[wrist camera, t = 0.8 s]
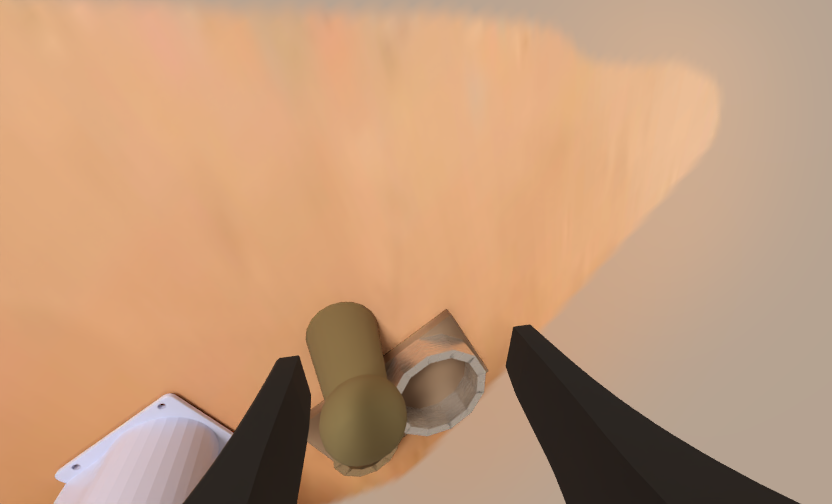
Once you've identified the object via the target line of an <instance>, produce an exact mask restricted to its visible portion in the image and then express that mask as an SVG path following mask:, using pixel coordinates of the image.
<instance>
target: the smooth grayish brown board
mask: <svg viewBox="0 0 832 504" xmlns="http://www.w3.org/2000/svg"><path fill="white" fill-rule="evenodd" d="M438 334H445V335H448V336H452V337H455V338H458V339H462V340H463V341H464V343H465V344H466V345H467V346H468V348H469V349H470V350H471V351H472V353H473V354H474V355H475V356H476V358H477V359H478V361H479V362H480V364H481V365H482V367H483V368H484V370H485V371H486V373H487V372H488V369H487V368H486V366H485V365H484V363H483V362H482V360H481V359H480V357H479V356H478V354H477V353H476V351H475V350H474V348H473V347H472V345H471V344H470V342H469V341H468V339H467V338H466V336H465V335H464V333H463V332H462V330H461V329H460V327H459V326H458V324H457V323H456V321H455V320H454V318H453V317H452V315H451V314H450V313H449V311H448V310H447V309H446V310H445V311H443V312H442V313H441V314H439V315H438V316H437V317H435V318H434V319H432V320H431V321H430V322H428V323H427V324H426V325H424V326H423V327H422V328H420V329H419V330H418V331H416V332H415V333H414V334H412V335H411V336H410V337H408V338H407V339H406V340H404V341H403V342H402V343H400V344H399V345H398V346H396V347H395V348H394V349H392V350H391V351H389V352H388V353H387V354H385V355H384V356H383V358H384V363H385V369H386V371H387V370H388V368H389V366H390V364H391V362H392V360H393V359H394V357H395V355H397V354H398V353H399V352H401V351H402V350H403V349H405V348H406V347H407V346H409V345H410V344H411V343H413V342H414V341H415V340H417V339H420V338H425V337H429V336H434V335H438ZM464 372H465V362H464V361H461V360H457V359H453V358H450V359H446V360H442V361H438V362H434V363H430V364H428V365H427V366H426V367H425V368H423V369H422V370H421V371H419V372H418V373H417V374H415V375H414V376H413V377H411V378H410V380H409V382H408V383H407V385H406V387H405V389H404V390H403V392H402V394H401V395H402V396H403V399H404V401H405V405H406V406H407V407H413V408H419V409H421V408H424V407H428V406H431V405H434V404H438V403H440V402H441V401H442V400H444V399H445V398H446V397H448V396H449V395H450V394H451V393H453V392H454V391H455V390H456V388H457V386H458V385H459V383H460V381H461V380H462V378H463V376H464ZM324 402H325V400H324V401H322V402H321V403H320V404H318V405H317V406H316V407H314V408H313V409H312V410H310V424H309V433H308V439H307V442H308V443H310V444H311V445H312V446H314V447H315V448H316V449H318V450H319V451H320V452H322V453H323V454H324V455H326V456H327V457H328V458H330V459H331V460H333V458H332V457H331V456H330V455H329V454H328V453H327V452H326V450H325V448H324V446H323V443H322V440H321V437H320V433H319V422H320V414H321V410H322V406H323V404H324ZM405 435H407V434H406V433H404V436H405ZM404 436H403V437H404Z"/></svg>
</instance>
